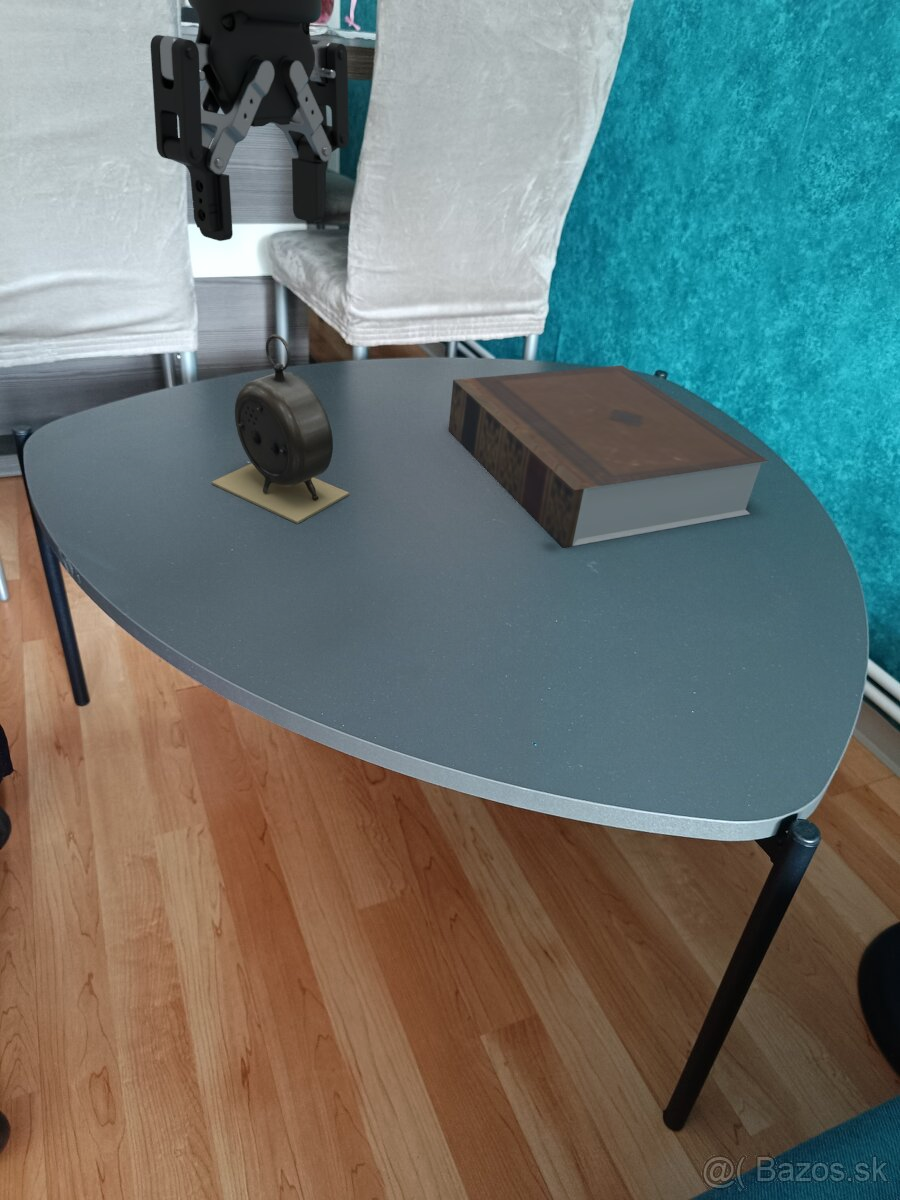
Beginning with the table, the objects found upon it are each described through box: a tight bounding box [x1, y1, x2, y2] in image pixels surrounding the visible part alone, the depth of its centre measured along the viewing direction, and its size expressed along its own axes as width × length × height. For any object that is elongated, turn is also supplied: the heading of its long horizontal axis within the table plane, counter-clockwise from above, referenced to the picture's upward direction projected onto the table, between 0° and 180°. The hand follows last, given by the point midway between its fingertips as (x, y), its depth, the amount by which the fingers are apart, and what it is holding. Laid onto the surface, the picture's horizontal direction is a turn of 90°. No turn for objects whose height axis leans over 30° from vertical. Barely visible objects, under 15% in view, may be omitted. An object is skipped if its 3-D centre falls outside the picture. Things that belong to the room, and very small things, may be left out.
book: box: [448, 364, 769, 549], centre depth 96 cm, size 24×28×7 cm
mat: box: [211, 462, 350, 525], centre depth 88 cm, size 8×12×1 cm, turn 56°
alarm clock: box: [234, 333, 334, 501], centre depth 83 cm, size 11×5×16 cm, turn 47°
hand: (264, 228), depth 55 cm, fingers open, 8 cm apart
